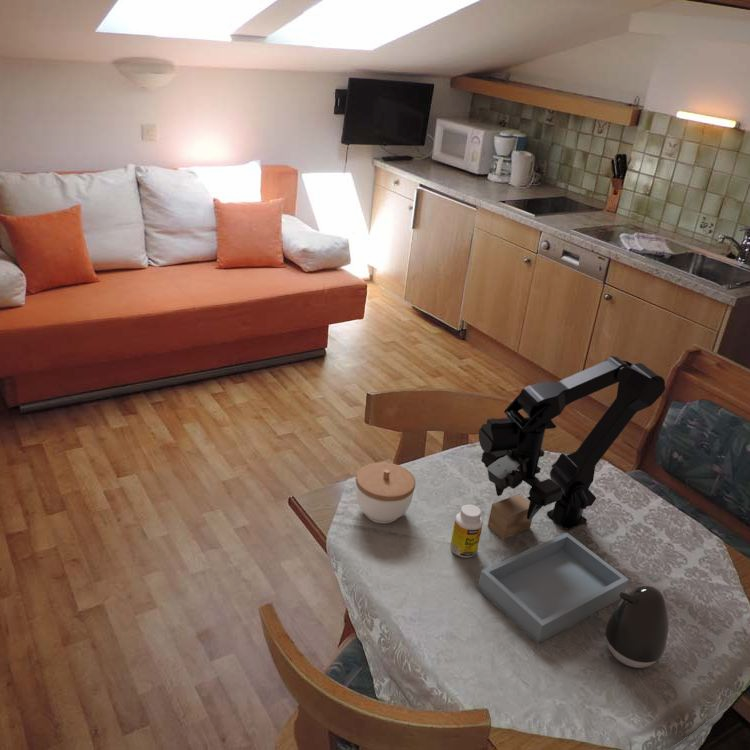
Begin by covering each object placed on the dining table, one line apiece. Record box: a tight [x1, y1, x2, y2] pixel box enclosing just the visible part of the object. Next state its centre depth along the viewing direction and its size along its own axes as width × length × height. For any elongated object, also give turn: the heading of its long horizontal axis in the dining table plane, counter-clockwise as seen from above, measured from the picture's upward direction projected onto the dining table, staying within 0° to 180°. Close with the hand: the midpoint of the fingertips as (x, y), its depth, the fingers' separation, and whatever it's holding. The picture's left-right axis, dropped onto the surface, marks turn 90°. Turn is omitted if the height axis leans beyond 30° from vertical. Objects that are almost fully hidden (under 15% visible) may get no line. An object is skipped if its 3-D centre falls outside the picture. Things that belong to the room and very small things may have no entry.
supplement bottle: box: [450, 504, 484, 559], centre depth 153 cm, size 6×6×10 cm
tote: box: [477, 532, 630, 645], centre depth 146 cm, size 24×16×4 cm, turn 125°
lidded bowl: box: [355, 461, 416, 524], centre depth 162 cm, size 13×13×11 cm
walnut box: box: [487, 493, 534, 540], centre depth 163 cm, size 8×5×6 cm, turn 125°
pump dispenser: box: [604, 584, 670, 669], centre depth 131 cm, size 10×10×15 cm
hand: (513, 506), depth 162 cm, fingers open, 9 cm apart
